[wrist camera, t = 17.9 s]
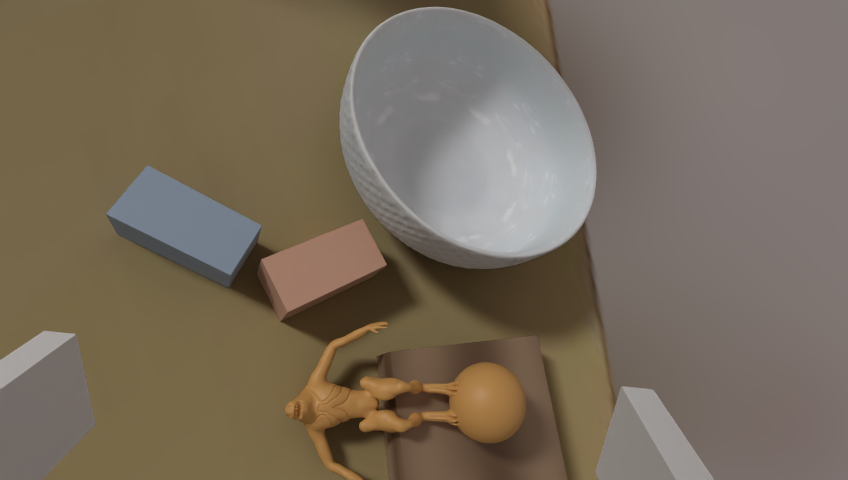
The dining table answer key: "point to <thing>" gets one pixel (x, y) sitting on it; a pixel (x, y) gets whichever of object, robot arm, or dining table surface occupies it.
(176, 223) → the slate-blue brick
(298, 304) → the terracotta brick
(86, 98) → the dining table surface
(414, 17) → the cereal bowl
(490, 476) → the walnut plinth
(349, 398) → the figurine
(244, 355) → the dining table surface
